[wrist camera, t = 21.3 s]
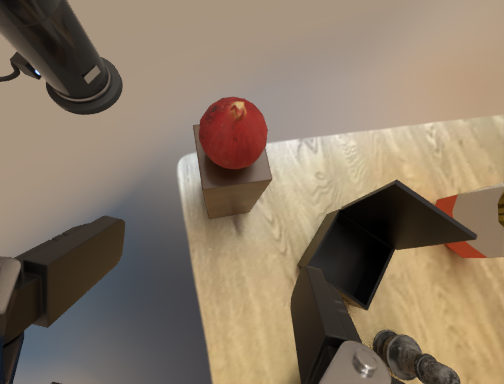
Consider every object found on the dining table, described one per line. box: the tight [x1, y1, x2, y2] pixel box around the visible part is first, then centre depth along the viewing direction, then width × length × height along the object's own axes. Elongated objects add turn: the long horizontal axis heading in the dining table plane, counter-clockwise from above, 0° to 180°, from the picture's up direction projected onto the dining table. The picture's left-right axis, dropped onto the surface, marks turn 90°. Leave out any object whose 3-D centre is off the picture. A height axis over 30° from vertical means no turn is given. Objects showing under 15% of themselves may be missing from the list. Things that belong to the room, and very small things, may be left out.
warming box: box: [297, 209, 395, 310], centre depth 38 cm, size 11×11×4 cm
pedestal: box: [193, 124, 272, 219], centre depth 32 cm, size 7×7×18 cm
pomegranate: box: [199, 97, 268, 169], centre depth 20 cm, size 6×6×8 cm
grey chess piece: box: [373, 330, 460, 384], centre depth 32 cm, size 6×6×12 cm
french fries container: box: [435, 183, 504, 258], centre depth 36 cm, size 5×11×18 cm, turn 14°
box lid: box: [341, 180, 477, 250], centre depth 32 cm, size 12×11×1 cm
